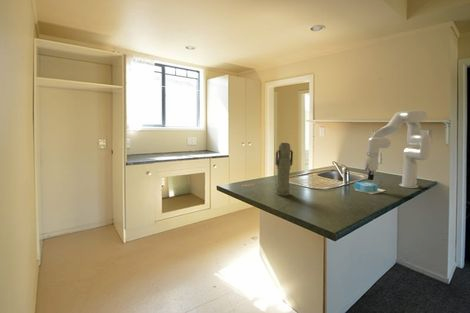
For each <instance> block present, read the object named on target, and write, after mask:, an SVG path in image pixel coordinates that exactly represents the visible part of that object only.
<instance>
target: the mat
mask: <svg viewBox="0 0 470 313" xmlns="http://www.w3.org/2000/svg"><path fill="white" fill-rule="evenodd" d="M354 191H357V192H361V193H366V194H369V195H375V194H379V193H384V192H386V190H385V189H382V188H378V190H377V191H374V192H363V191H360V190H357V189H354Z"/></svg>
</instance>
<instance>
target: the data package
mask: <svg viewBox="0 0 470 313" xmlns="http://www.w3.org/2000/svg"><path fill="white" fill-rule="evenodd" d="M353 185H354V186H353V189H354V190H355V189H357V190H360V191H363V192H362V193H364V192H374V191H377V190H378V189H379V187H378V186H379V185H378V184H376V183H372V182H369V181H359V182H358V181H356V182H354V184H353ZM360 191H359V192H360Z"/></svg>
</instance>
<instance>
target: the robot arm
mask: <svg viewBox="0 0 470 313" xmlns="http://www.w3.org/2000/svg"><path fill="white" fill-rule="evenodd" d="M427 117H428V113H427V111H425V110H422V109H421V110H420V109H419V110H418V109H417V110H400V111H399V110H398V111H397V112H395V114H394V115H393V116H392V118H391V119H390V120H389V121H388V122H387V124H386V125H385V126H383V127H381V128H380V129H377V130H376V131H375V132H374V134H372V136H371V137H369V138H368V139H367V140H368V141H367V152H366V158H365V163H364V171H366V173H367V175H368V176H367V180H368V181H374V176H375V173H376V172H377V170H378V168H379V167H378V166H379V154H380V149H388V148H389V147H390V146H391V143H392V142H391V140H390V139H389V138H387V137H385V136H389V135H392V134H395V133H397V132H398V131H399V130H400V129H401V127H402V126H403V125H404V124H406V126H407V135H406V142H407V144H408V145H410V146H407V147H405V148H404V149H403V165H402V166H403V169H402V175H401V176H402V177H401V178H402V179H401V182H400V183H399V184H398V185H399V186H400V187H402V188H406V189H407V188H408V189H409V188H411V189H418V188H419V185H417V183H418V181H417V179H418V169H419V163H418V161H428V159H429V158H430V155H431V146H432V137H431V135H430V134H428V133H424V132H423V133H422V132H421V131H422V126H421V123H422V122H425V120H426V119H427Z"/></svg>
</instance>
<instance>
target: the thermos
mask: <svg viewBox="0 0 470 313" xmlns="http://www.w3.org/2000/svg"><path fill="white" fill-rule="evenodd" d="M293 160H294V151H293V150H292V149H291V145H290V143H288V142H281V143H279V147H278V150H276V151H275V165H276V169H277V178H276V180H277V181H276V184H275V186H276V187H275V188H276V189H275V190H276V193H275V194H276V195H277V196H282V197H286V196H287V197H288V196H290V188H291V185H290V170H291V166H292V165H293V162H294V161H293Z"/></svg>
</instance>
